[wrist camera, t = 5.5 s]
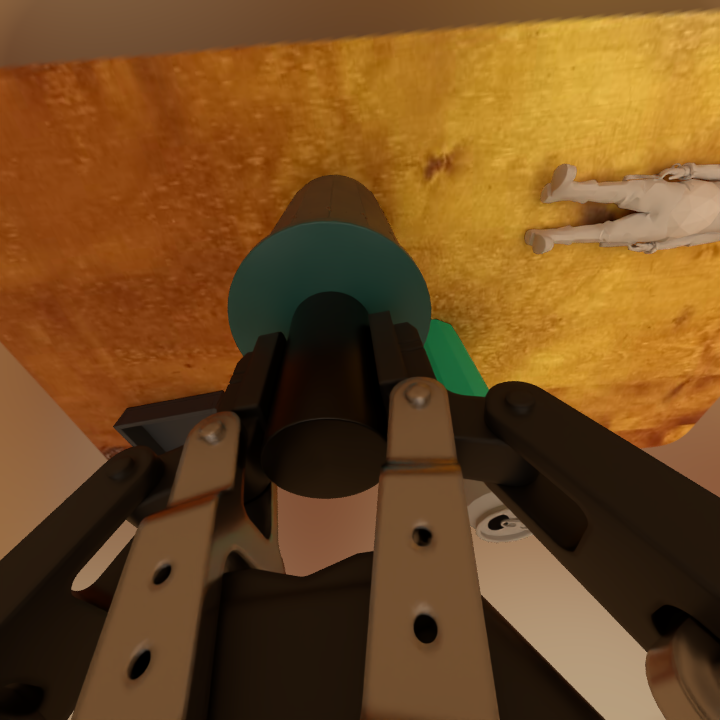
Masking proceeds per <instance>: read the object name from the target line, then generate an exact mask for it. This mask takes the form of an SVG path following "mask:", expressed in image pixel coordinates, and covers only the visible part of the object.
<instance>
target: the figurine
mask: <svg viewBox="0 0 720 720" xmlns="http://www.w3.org/2000/svg"><path fill="white" fill-rule="evenodd" d="M675 165H678V167H677V168H674V166H675ZM688 165H689V166H688ZM576 173H577V169H576V167H575V166H572V165H570V164H562V165H560V166H558V167H557V168H556V170H555V171H554V173H553V176H552V180H551V183H549V184H547V185H546V186H545V187H544V188H543V190H542V192H541V198H540V199H541V202H542V203H552V202H556V201H568V200H571V201H573V202H579V203H582V204H583V203H586V202H587V201H592V202H599V203H615V204H617V205H618V207H619V208H623V209H630V210H634V211H637V212H644V213H634V214H630V215H627V216H625V217H622V218H620V219H618V220H615V221H613V222H611V221H606V222H605V223H603V224H601V223H599V224H595V225H584V226H578V227H572V226H570V225H568V226H565V227H559V228H557V229H541V230H538V229H531V230H528V231H527V232H526V234H525V242H526V244H528V245H531V246H532V247H533V251H534V253H536V254H543V253H545V252H548V251H550V250H551V249H552V248H553V246H554V243H556V244H565V245H570V244H572V243H594V242H600V243H599V246H600V247H614V246H628V250H632V251H637V252H644V253H645V254H652V253H654V252H655V251H656V250H662V249H671V248H676V247H680V246H687V247H689V246H694V245H699V244H705V243H711V242H716V241H720V165H719V164H707V165H696V164H695V163H686V164H683V165H682V166H681V164H680V163H677V164H674V165H673V166H671V168H669V169H668V168H667V169H665V170H663V171H661V172H660V173H659V174H656V175H659V176H655V175H627V176H624V177H623V180H622V181H615V182H601V183H597V181H596V180H589V181H585V182H576V181H573V180H574V178H575V177H576ZM667 174H669V175H673V176H671V177H669V180H671V179H677V178H678V180H687V179H689V180H687V181H682V182H667V181H665V180H663V178H664V177H665V176H666V175H667ZM684 177H685V178H684ZM642 178H647V179H642ZM654 178H659V179H654ZM691 178H698V179H703V180H709V182H707V181H701V180H695V179H691ZM630 179H640V180H630ZM627 180H629V181H627ZM636 242H645V243H642V244H641V243H636ZM650 242H651V243H650ZM635 243H636V245H634V244H635ZM649 251H650V252H649Z"/></svg>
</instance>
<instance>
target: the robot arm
mask: <svg viewBox="0 0 720 720" xmlns="http://www.w3.org/2000/svg"><path fill="white" fill-rule="evenodd" d="M368 318H369V324H370V331H371V337H372V343H373V350H374V356H375V362H376V369H377V375H378V381H379V387H380V391H381V396H382V401H383V406H384V409H385V411H386V414H387V420H388V436H387V453H386V463H385V464H382V466H381V469H380V476H379V488H378V501H377V515H376V528H375V541H374V551H371V552H365V553H358V554H355V555H353V556H351V557H348V558H346V559H344V560H342V561H340V562H337V563H335V564H333V565H331V566H328V567H326V568H324V569H322V570H319V571H318V572H315V573H313V574H311V575H308V576H304V577H298V576H293V575H287V574H286V573H285V567H284V563H283V559H282V557H281V554H280V550H279V545H278V503H277V502H278V501H277V485H276V484H274V483H273V482H272V481H271V480H270V479H269V478H268V477H267V476H266V475H265V473H264V471H263V469H262V466H261V463H260V452H261V448H262V444H263V439H264V435H265V431H266V427H267V423H268V418H269V414H270V410H271V406H272V402H273V398H274V393H275V389H276V385H277V381H278V377H279V372H280V368H281V364H282V360H283V356H284V352H285V347H286V343H287V341H286V338H285V336H284V334H283V333H282V332H275V333H270V334H265V335H260V336H259V337H258V339H257V342H256V344H255V347H254V350H253V351H252V352H247V353H246V354H245V355H244V357H243V358H242V359H241V360H240V361H239V362H238V363H237V365H236V368H235V370H234V372H233V376H232V377H231V380H230V382H229V383H230V384H229V385H228V387H227V389H226V391H225V394H224V396H223V398H222V401H221V403H220V405H219V408H218V410H217V413H215V414H212V415H210V416H208V417H206V418H204V419H203V420H201V421H200V422H199V423H198V424H196V425H195V426H194V427H193V428H192V430H191V431H190V432H189V434H188V436H187V438H186V441H185V444H184V445H182V446H180V447H177V448H175V449H173V450H170V451H168V452H166V453H163V454H161V455H159V456H157V455H156V454H155V453H154V452H153V450H152V449H151V448H149V447H148V446H144V445H139V446H134V447H131V448H128V449H126V450H124V451H122V452H120V453H118V454H117V455H115V456H114V457H112V458H111V459H109V460H108V461H107V462H106V463H105V464H104V465H103V466H102V467H100V468H99V469H98V470H97V471H96V472H95V473H94V474H93V475H92V476H91V477H90V478H89V479H88V480H87V481H86V482H84V483H83V484H82V485H81V486H80V487H79V488H78V489H77V490H76V491H75V492H74V493H73V494H72V495H70V496H69V497H68V498H67V499H66V500H65V501H64V502H63V503H62V504H61V505H60V506H59V507H58V508H56V510H54V511H53V512H52V513H51V514H50V515H49V516H48V517H47V518H46V519H45V520H43V521H42V522H41V524H39V525H38V526H37V527H36V528H35V529H34V530H33V531H32V532H31V533H29V534H28V536H27V537H25V538H24V539H23V540H22V541H21V542H20V543H19V544H18V545H17V546H15V547H14V548H13V549H12V550H11V551H10V552H9V553H8V554H7V555H6V556H5V557H4V558H3V559H2V560H0V720H67V719H68V718H69V716H70V715H71V714H72V712H73V711H74V712H73V716H72V718H71V720H605V719H604V718H603V717H602V716H601V715H600V714H599V713H598V712H597V711H596V710H595V709H594V708H593V707H592V706H591V705H590V704H589V703H588V702H587V701H586V700H585V699H584V698H583V697H582V696H581V695H580V694H579V693H578V692H577V691H576V690H575V689H574V688H573V687H572V686H571V685H570V684H569V683H568V682H567V681H566V680H565V679H564V678H563V677H562V675H561V674H560V673H559V672H557V670H555V668H554V667H552V665H550V663H549V662H548V661H547V660H546V659H545V658H544V657H543V656H542V655H541V654H540V653H539V652H537V650H536V649H534V647H533V646H532V645H531V644H530V643H529V642H528V641H527V640H526V639H525V638H524V637H523V636H522V635H521V634H520V633H519V632H518V631H517V630H516V629H515V628H514V627H513V626H512V625H511V624H510V623H509V622H508V621H507V620H506V619H505V618H504V617H503V616H502V615H501V614H500V613H499V612H498V611H497V610H496V609H495V608H494V607H493V606H492V605H491V604H490V603H489V602H488V601H487V600H486V599H485V598H484V597H483V596H482V595H481V593H480V587H479V580H478V574H477V567H476V561H475V554H474V547H473V541H472V534H471V528H470V521H469V515H468V508H467V502H466V495H465V488H464V482H463V479H469V480H475V481H482V482H484V483H485V485H486V486H487V487H488V488H489V489H490V490H491V491H492V492H493V493H494V494H495V495H496V496H497V497H498V498H499V500H500V501H501V502H502V503H503V504H504V505H505V506H506V507H507V508H508V509H509V510H510V511H511V512H512V513H513V514H514V515H515V516H516V517H517V518H518V519H519V520H520V521H521V522H522V523H523V524H524V525H525V526H526V527H527V528H528V530H529V531H530V532H531V533H532V534H533V535H534V536H535V537H536V538H537V539H538V540H539V541H540V542H541V543H542V544H543V545H544V546H545V547H546V548H547V549H548V550H549V551H550V552H551V553H552V554H553V555H554V556H555V557H556V559H558V561H559V562H560V563H561V564H562V565H563V566H564V567H565V568H566V569H567V570H568V571H569V572H570V573H571V574H572V575H573V576H574V577H575V578H576V579H577V580H578V581H579V582H580V583H581V584H582V585H583V586H584V587H585V588H586V590H587V591H588V592H589V593H590V594H591V595H592V596H594V598H595V599H596V600H597V601H598V602H599V603H600V604H601V605H602V606H603V607H604V608H605V609H606V610H607V611H608V612H609V613H610V614H611V615H612V616H613V617H614V619H615V620H616V621H617V622H618V623H619V624H620V625H621V626H622V627H623V628H624V629H625V630H626V631H627V632H628V633H629V634H630V635H631V636H632V637H633V638H634V639H635V640H636V641H637V642H638V643H639V644H640V645H641V646H642V647H643V648H644V649H645V651H646V652H647V656H646V664H645V667H646V676H647V680H648V684H649V687H650V690H651V692H652V695H653V697H654V699H655V701H656V703H657V705H658V707H659V709H660V710H661V712H662V714H663V715H664V717H665V719H666V720H720V498H719V497H718V496H716V495H715V494H713V493H711V492H710V491H708V490H706V489H704V488H703V487H701V486H700V485H698V484H697V483H695V482H693V481H692V480H690V479H688V478H687V477H685V476H683V475H682V474H680V473H679V472H677V471H675V470H674V469H672V468H670V467H669V466H667V465H665V464H664V463H662V462H660V461H659V460H657V459H655V458H654V457H652V456H651V455H649V454H648V453H646V452H644V451H643V450H641V449H639V448H638V447H636V446H634V445H633V444H631V443H630V442H628V441H626V440H625V439H623V438H621V437H620V436H618V435H617V434H615V433H613V432H612V431H610V430H608V429H607V428H605V427H603V426H602V425H600V424H599V423H597V422H595V421H594V420H592V419H590V418H589V417H587V416H585V415H584V414H582V413H581V412H579V411H577V410H576V409H574V408H572V407H571V406H569V405H567V404H566V403H564V402H563V401H561V400H559V399H558V398H556V397H554V396H553V395H551V394H550V393H548V392H546V391H545V390H543V389H541V388H539V387H537V386H535V385H533V384H529V383H526V382H519V381H508V382H503V383H499V384H497V385H495V386H493V387H492V388H491V389H490V390H489V391H488V392H487V394H486V397H481V396H467V395H460V394H456V393H453V392H451V391H449V390H447V389H446V388H445V387H444V385H443V384H441V383H440V382H439V381H437V379H436V377H435V374H434V372H433V369H432V366H431V364H430V361H429V359H428V356H427V354H426V351H425V348H424V346H423V343H422V341H421V338H420V336H419V333H418V330H417V328H415V327H414V326H412V325H411V324H410V323H408V322H404V323H398V324H393V322H392V319H391V315H390V312H389V310H388V311H383V312H378V313H373V314H368ZM125 520H127V521H129V522H130V523H131V524H133V525H134V526H135V527H136V528H138V529H137V531H136V534H135V535H134V536H133V538H132V539H131V540H130V542H129V543H128V544H127V545H126V546H125V547H124V548H123V550H122V551H121V552H120V553H119V554H118V556H117V557H116V558H115V559H114V561H113V562H112V563H111V564H110V565H109V567H108V568H107V569H106V570H105V571H104V572H103V573H102V575H101V576H100V577H99V578H98V579H97V580H96V582H94V583H93V584H92V585H91V586H89V587H88V588H86V589H84V590H81V591H73V590H71V587H72V583H73V581H74V579H75V577H76V575H77V574H78V573H79V572H80V570H81V569H82V568H83V567H84V566H85V565H86V564H87V562H88V561H89V560H90V559H91V558H92V557H93V556H94V555H95V554H96V552H97V551H98V550H99V549H100V548H101V547H102V546H103V545H104V543H105V542H106V541H107V540H108V539H109V538H110V537H111V536H112V534H113V533H114V532H115V531H116V530H117V529H118V528H119V527H120V525H121V524H122V523H123V522H124V521H125ZM74 709H75V710H74Z"/></svg>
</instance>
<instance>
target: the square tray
mask: <svg viewBox="0 0 720 720" xmlns="http://www.w3.org/2000/svg"><path fill="white" fill-rule="evenodd" d="M224 394H225V393H224V392H223V391H219V392H214V393H208V394H203V395H197V396H192V397H186V398H181V399H175V400H170V401H165V402H159V403H154V404H148V405H143V406H137V407H132V408H127V409H126V410H125V412H124V413H123V414H122V415H121V417H120V418H119V419H118V421H117V422H116V423H115V425H114V426H113V427H114V428H115V429H116V430H117V431H118V432H119V433H120V434H121V435H122V436H123V437H124V438H125V439H126V440H127V441H128V442H129V443H130V444H131V445H132V446H133V447H134V446H139V445H144V446H148V447H149V448H151V449H152V450H153V452H154V453H155V454H156V455H157V456H159V455H161V454H163V453H166V452H168V451H170V450H173V449H175V448H177V447H180V446H182V445H184V444H185V441H186V438H187V436H188V434H189V432H190V431H191V430H192V428H193V427H194V426H195V425H196V424H198V423H199V422H200V421H201V420H203V419H204V418H206V417H208V416H210V415H212V414H215V413H217V410H218V408H219V405H220V403H221V401H222V398H223V396H224Z"/></svg>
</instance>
